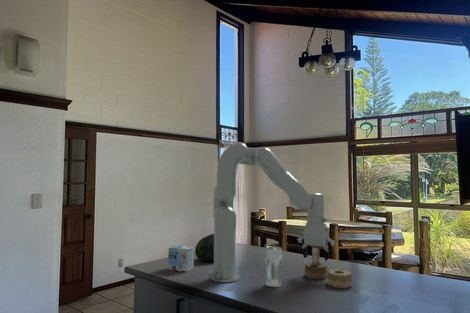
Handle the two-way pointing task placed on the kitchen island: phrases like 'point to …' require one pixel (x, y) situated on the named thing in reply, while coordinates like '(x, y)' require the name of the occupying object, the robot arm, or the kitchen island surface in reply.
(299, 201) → the robot arm
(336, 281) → the oak bead
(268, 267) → the beer glass
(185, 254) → the light bulb box
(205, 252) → the squash
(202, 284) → the kitchen island surface
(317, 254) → the cream and red cylinder
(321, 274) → the walnut bead
